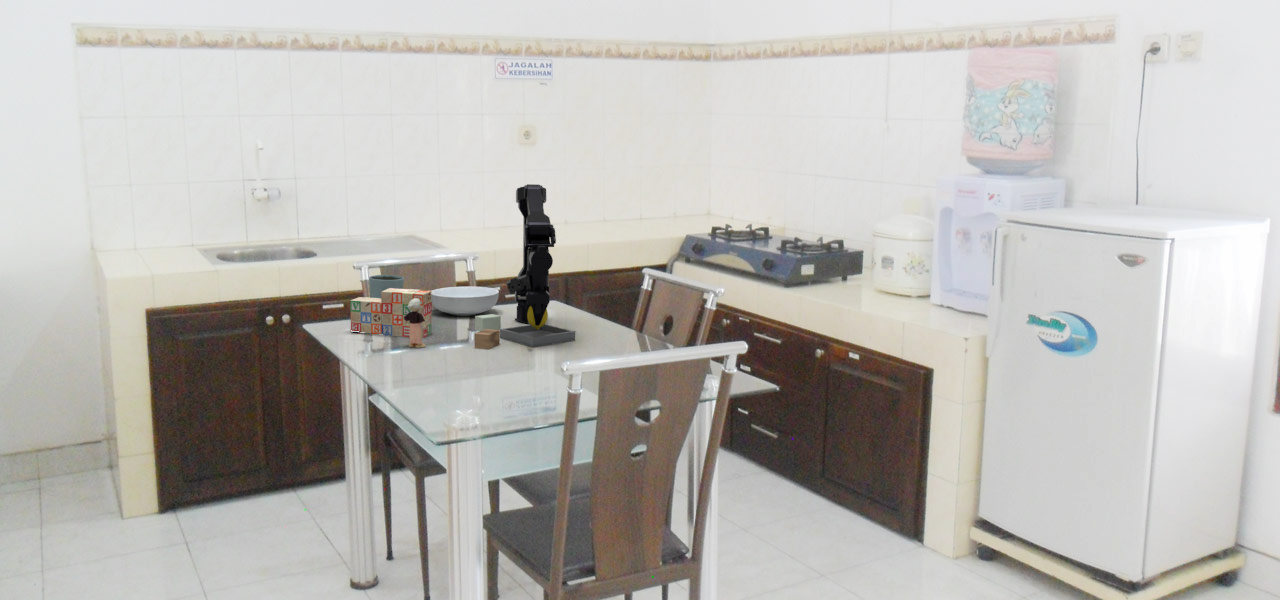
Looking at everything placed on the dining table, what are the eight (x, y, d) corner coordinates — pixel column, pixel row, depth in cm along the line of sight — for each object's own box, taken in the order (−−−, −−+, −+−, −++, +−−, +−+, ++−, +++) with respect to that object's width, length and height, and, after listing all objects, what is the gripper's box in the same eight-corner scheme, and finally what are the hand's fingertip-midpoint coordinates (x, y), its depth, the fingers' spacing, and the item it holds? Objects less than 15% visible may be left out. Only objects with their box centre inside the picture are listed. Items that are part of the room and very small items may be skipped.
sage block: (492, 327, 310) (492, 314, 309) (500, 330, 307) (500, 316, 306) (475, 330, 306) (475, 316, 305) (482, 332, 303) (482, 318, 302)
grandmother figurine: (432, 346, 283) (431, 298, 281) (424, 348, 279) (424, 300, 277) (406, 343, 285) (405, 296, 283) (398, 346, 282) (397, 298, 280)
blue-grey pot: (369, 314, 325) (369, 274, 323) (404, 313, 327) (403, 274, 325) (369, 320, 315) (368, 279, 313) (405, 319, 318) (404, 279, 316)
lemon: (527, 327, 297) (527, 299, 296) (547, 327, 297) (547, 299, 296) (527, 331, 292) (527, 302, 290) (547, 331, 292) (547, 302, 291)
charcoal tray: (542, 331, 305) (542, 323, 305) (575, 340, 295) (575, 331, 294) (499, 338, 295) (499, 329, 295) (532, 347, 285) (532, 337, 284)
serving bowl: (472, 305, 345) (472, 283, 344) (512, 314, 330) (512, 292, 329) (416, 312, 331) (416, 289, 329) (456, 322, 316) (455, 299, 315)
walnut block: (485, 343, 289) (485, 328, 288) (499, 344, 288) (499, 330, 287) (474, 348, 282) (474, 333, 281) (488, 349, 281) (488, 334, 280)
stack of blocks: (350, 333, 297) (349, 289, 295) (359, 329, 303) (359, 286, 301) (423, 338, 293) (423, 293, 291) (432, 333, 299) (432, 290, 297)
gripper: (509, 261, 300) (508, 316, 303) (507, 271, 282) (506, 329, 284) (549, 261, 301) (548, 316, 304) (549, 271, 283) (549, 330, 285)
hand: (537, 323), depth 294 cm, fingers closed on lemon, 5 cm apart
